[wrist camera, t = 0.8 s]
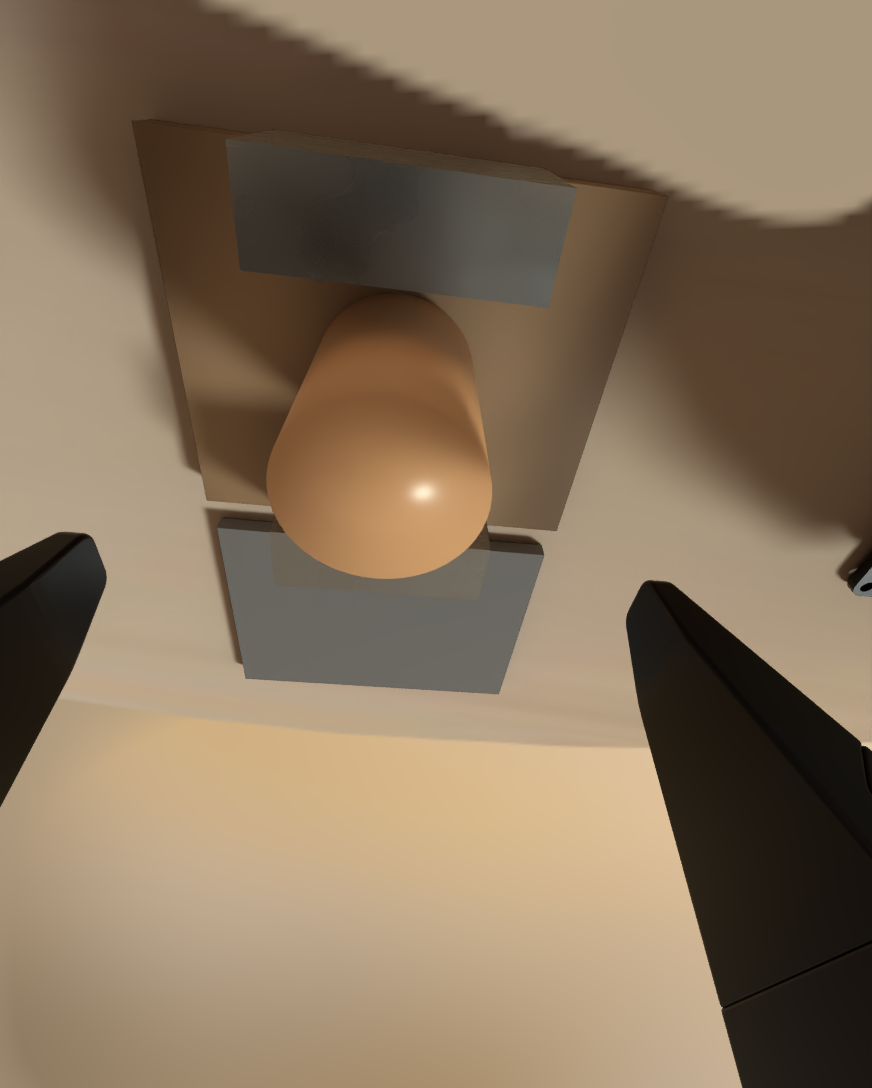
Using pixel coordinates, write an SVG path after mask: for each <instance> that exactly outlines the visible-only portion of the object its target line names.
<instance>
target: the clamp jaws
mask: <svg viewBox="0 0 872 1088" xmlns="http://www.w3.org/2000/svg"><path fill="white" fill-rule="evenodd" d="M226 148H227V157H228V166H229V176H230V185H231V194H232V203H233V212H234V221H235V230H236V239H237V248H238V257H239V266H240V270H241V271H249V272H257V273H265V274H274V275H282V276H290V277H298V278H307V279H315V280H323V281H331V282H339V283H348V284H356V285H364V286H372V287H381V288H389V289H397V290H405V291H413V292H422V293H430V294H438V295H446V296H455V297H463V298H471V299H479V300H487V301H496V302H504V303H512V304H520V305H529V306H537V307H545V308H549V303H550V299H551V295H552V291H553V287H554V282H555V278H556V274H557V270H558V266H559V262H560V257H561V253H562V249H563V245H564V241H565V237H566V232H567V228H568V224H569V220H570V216H571V211H572V207H573V203H574V199H575V195H576V191H577V188H576V187H574V186H572V185H571V184H569V183H567V182H566V181H564V180H563V179H561V178H559V177H558V176H556V175H555V174H553V173H551V172H550V171H548V170H546V169H545V168H539V167H532V166H525V165H518V164H511V163H504V162H497V161H490V160H483V159H476V158H469V157H462V156H455V155H448V154H441V153H434V152H427V151H420V150H413V149H406V148H399V147H392V146H385V145H378V144H371V143H364V142H357V141H350V140H343V139H336V138H329V137H322V136H315V135H308V134H301V133H294V132H287V131H280V130H268V131H263V132H258V133H253V134H248V135H243V136H238V137H233V138H228V139H226ZM269 537H270V546H271V555H272V564H273V573H274V582H275V585H280V586H293V587H306V588H319V589H332V590H346V591H359V592H372V593H385V594H398V595H411V596H425V597H438V598H451V599H464V600H477V601H478V600H479V596H480V592H481V588H482V583H483V579H484V575H485V571H486V567H487V562H488V558H489V554H490V543H489V536H488V528H487V521H486V522H485V525H484V527H483V529H482V531H481V532H480V534H479V535H478V536H477V538H476V539H475V541H474V542H473V543H472V544H471V545H470V546H469V547H468V548H467V549H466V550H465V551H464V552H463V553H462V554H460V555H459V556H458V557H456V558H455V559H453V560H452V561H450V562H449V563H447V564H445V565H443V566H441V567H439V568H437V569H435V570H432V571H430V572H427V573H424V574H420V575H416V576H411V577H405V578H395V579H375V578H368V577H361V576H356V575H352V574H348V573H345V572H342V571H339V570H336V569H334V568H332V567H330V566H327V565H325V564H323V563H322V562H320V561H318V560H316V559H314V558H313V557H312V556H310V555H309V554H307V553H306V552H304V551H303V550H302V549H301V548H300V547H299V546H298V545H296V544H295V543H294V542H293V541H292V539H291V538H290V537H289V536H288V535H287V534H286V533H285V531H284V530H283V528H282V527H281V525H280V524H279V523H278V521H277V519H276V517H274V520H273V522H272V525H271V528H270V530H269Z"/></svg>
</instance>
